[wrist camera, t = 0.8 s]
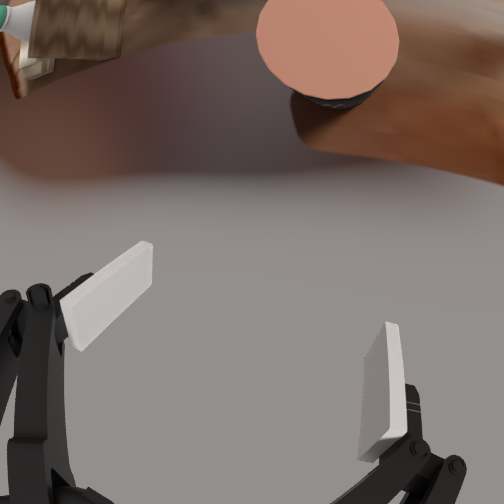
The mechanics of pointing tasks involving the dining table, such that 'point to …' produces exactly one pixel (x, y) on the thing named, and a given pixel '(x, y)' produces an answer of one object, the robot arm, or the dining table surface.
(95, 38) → the offcut rack
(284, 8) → the coffee jar
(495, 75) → the dining table surface
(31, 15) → the milk bottle
